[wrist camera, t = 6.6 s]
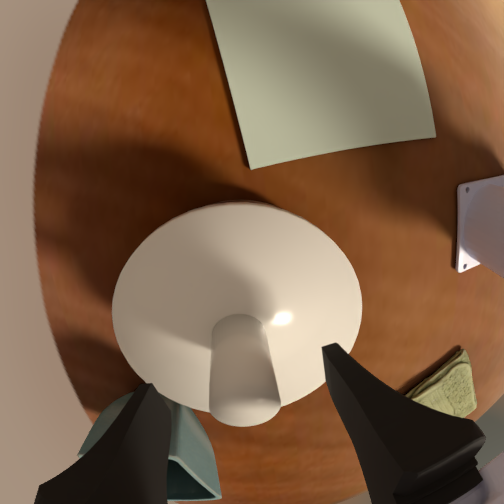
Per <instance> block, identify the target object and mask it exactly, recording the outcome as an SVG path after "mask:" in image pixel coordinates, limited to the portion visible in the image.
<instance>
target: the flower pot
mask: <svg viewBox="0 0 504 504" xmlns="http://www.w3.org/2000/svg"><path fill="white" fill-rule="evenodd" d="M133 393H134V392H131V393H128V394H126V395H124V396H122V397H120V398H119V399H117V400H116V401H114V402H113V403H111V404H110V405H109V406H108V407H106V408H105V409H104V411H103V412H102V413H101V414H100V415H99V417H98V418H97V420H96V421H95V423H94V425H93V427H92V428H91V430H90V432H89V434H88V436H87V438H86V439H85V441H84V443H83V445H82V447H81V449H80V451H79V453H78V457H79V458H81V457H82V456H83V455H84V454H86V453H87V452H88V451H89V450H90V449H91V448H92V447H93V446H94V444H95V443H96V442H97V441H98V440H99V439H100V438H101V437H102V436H103V434H104V433H105V432H106V430H107V429H108V428H109V427H110V425H111V424H112V423H113V422H114V420H115V419H116V417H117V416H118V415H119V413H120V412H121V410H122V409H123V408H124V406H125V405H126V403H127V402H128V400H129V399H130V398H131V396H132V395H133ZM158 393H159V392H158ZM159 394H160V396H161V397H162V399H163V400H164V402H165V403H166V404H167V406H168V407H169V409H170V410H171V420H172V432H171V441H170V449H169V458H168V466H167V479H166V482H167V501H202V500H216V499H221V498H222V496H221V490H220V485H219V478H218V473H217V467H216V461H215V456H214V452H213V448H212V446H211V443H210V441H209V438H208V436H207V434H206V432H205V430H204V428H203V427H202V425H201V423H200V422H199V420H198V418H197V417H196V415H195V414H194V412H193V411H192V410H191V408H190V407H188V406H185V405H182V404H179V403H177V402H175V401H173V400H171V399H169V398H167V397H166V396H164V395H162V394H161V393H159Z"/></svg>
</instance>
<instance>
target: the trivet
mask: <svg viewBox="0 0 504 504" xmlns="http://www.w3.org/2000/svg"><path fill="white" fill-rule="evenodd" d="M206 3H207V7H208V10H209V14H210V17H211V21H212V24H213V28H214V32H215V35H216V39H217V43H218V46H219V50H220V54H221V57H222V61H223V65H224V69H225V72H226V76H227V80H228V84H229V87H230V91H231V95H232V99H233V103H234V107H235V110H236V114H237V118H238V122H239V126H240V130H241V134H242V138H243V142H244V146H245V150H246V154H247V158H248V162H249V166H250V169H255V168H260V167H264V166H268V165H272V164H277V163H281V162H286V161H290V160H295V159H300V158H305V157H310V156H315V155H320V154H325V153H330V152H336V151H341V150H347V149H353V148H359V147H365V146H371V145H378V144H385V143H392V142H399V141H407V140H416V139H424V138H434V137H436V132H435V126H434V120H433V114H432V109H431V104H430V99H429V94H428V89H427V85H426V81H425V77H424V73H423V69H422V65H421V62H420V58H419V55H418V51H417V48H416V45H415V42H414V39H413V36H412V33H411V30H410V27H409V24H408V21H407V19H406V16H405V13H404V11H403V8H402V6H401V3H400V1H399V0H206Z"/></svg>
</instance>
